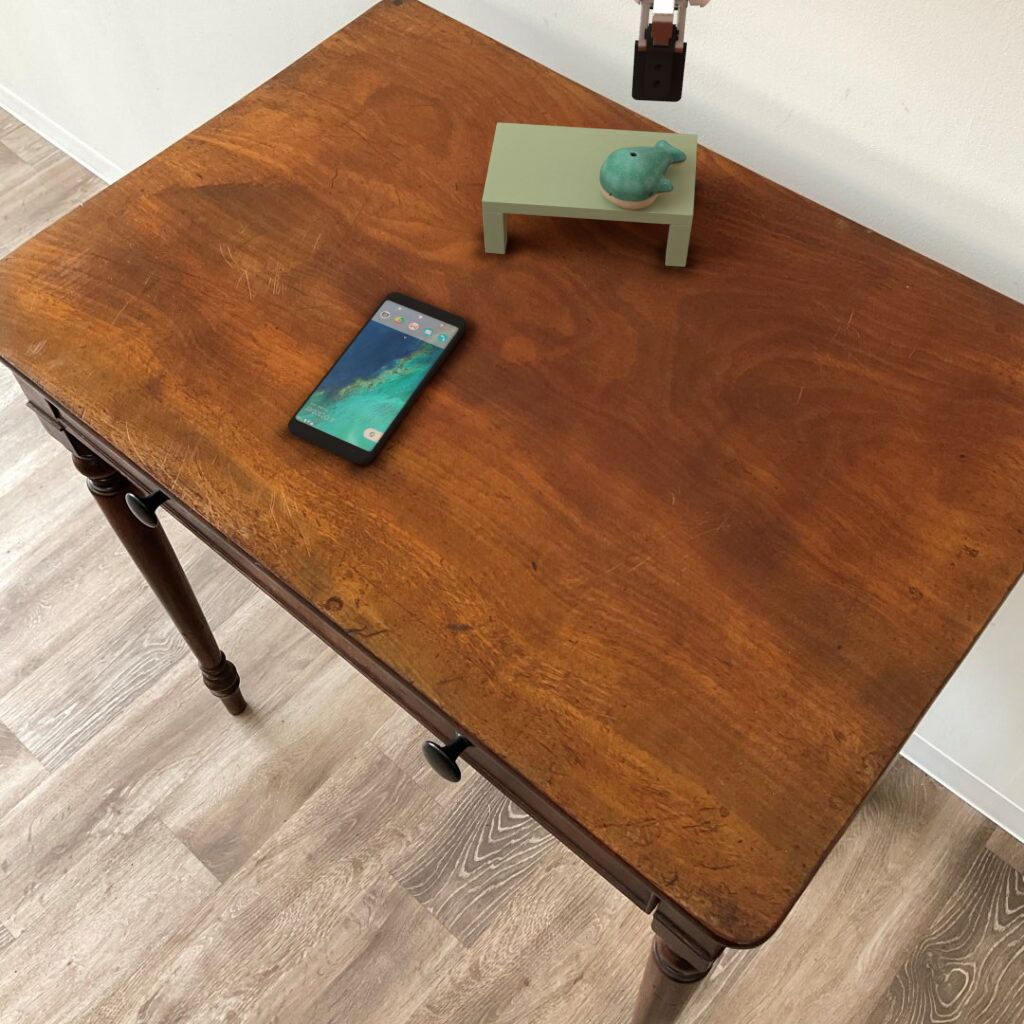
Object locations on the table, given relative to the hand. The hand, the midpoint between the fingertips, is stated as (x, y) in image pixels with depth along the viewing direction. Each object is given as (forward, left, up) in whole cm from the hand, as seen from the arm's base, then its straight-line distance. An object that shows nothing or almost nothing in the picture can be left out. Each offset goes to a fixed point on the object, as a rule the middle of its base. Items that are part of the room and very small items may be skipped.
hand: (660, 51), depth 74 cm
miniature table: (+4, -2, -17) cm, 18 cm away
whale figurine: (0, 0, -12) cm, 12 cm away
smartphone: (+18, +16, -17) cm, 30 cm away
